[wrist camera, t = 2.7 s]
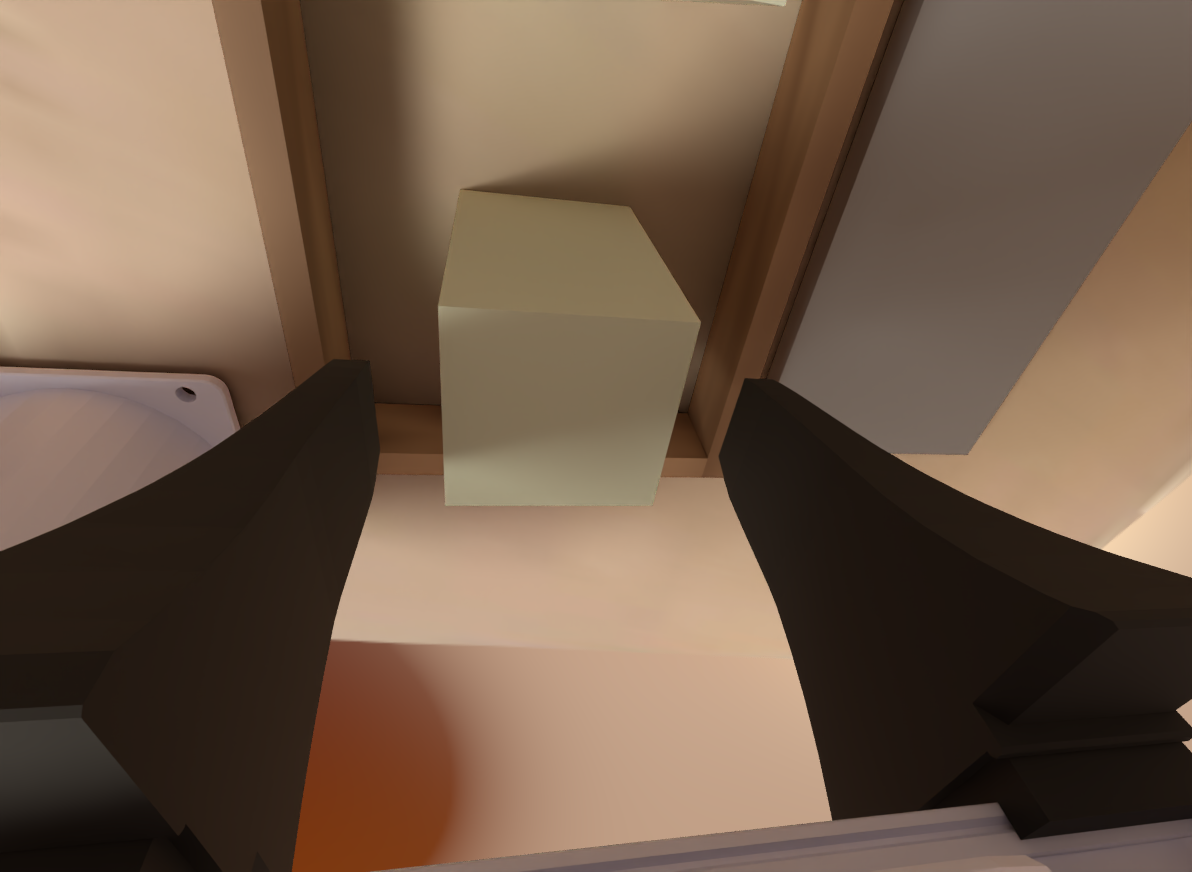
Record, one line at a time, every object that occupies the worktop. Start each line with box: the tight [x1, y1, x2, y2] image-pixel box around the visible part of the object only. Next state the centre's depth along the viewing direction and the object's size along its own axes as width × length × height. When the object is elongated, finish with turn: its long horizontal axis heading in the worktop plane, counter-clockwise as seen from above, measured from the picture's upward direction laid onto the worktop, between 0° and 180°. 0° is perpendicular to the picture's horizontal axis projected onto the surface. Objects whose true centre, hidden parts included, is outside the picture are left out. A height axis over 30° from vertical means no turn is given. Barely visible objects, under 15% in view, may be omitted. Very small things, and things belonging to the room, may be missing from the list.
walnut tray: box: [212, 0, 894, 478], centre depth 13 cm, size 13×20×2 cm, turn 172°
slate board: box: [767, 0, 1192, 455], centre depth 18 cm, size 9×14×1 cm, turn 172°
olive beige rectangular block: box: [438, 189, 701, 506], centre depth 14 cm, size 4×5×7 cm
